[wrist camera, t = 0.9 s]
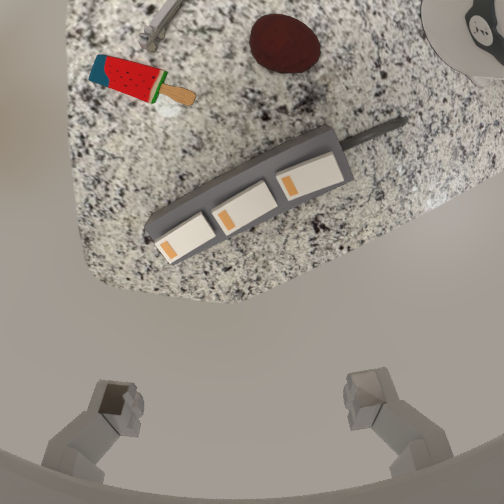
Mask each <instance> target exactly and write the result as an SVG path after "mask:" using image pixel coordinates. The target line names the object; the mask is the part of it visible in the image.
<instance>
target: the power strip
mask: <svg viewBox="0 0 504 504" xmlns="http://www.w3.org/2000/svg"><path fill="white" fill-rule="evenodd" d="M405 124H406V119H405V118H403V117H400V118H397V119H395V120H392V121H390V122H387V123H385V124H383V125H380V126H378V127H375V128H373V129H371V130H368V131H366V132H364V133H361V134H359V135H357V136H354V137H352V138H350V139H347V140H345V141H343V142H341V143H339V141H338V139H337V136H336V134H335V132H334V130H333V128H331V127H330V126H328V125H326V124H324V125H322V126H320V127H318V128H315V129H313V130H311V131H309V132H307V133H304V134H302V135H300V136H298V137H296V138H294V139H292V140H289V141H287V142H285V143H283V144H281V145H279V146H277V147H275V148H273V149H271V150H269V151H267V152H265V153H263V154H261V155H259V156H257V157H255V158H253V159H251V160H249V161H247V162H245V163H243V164H241V165H239V166H237V167H235V168H233V169H231V170H230V171H228V172H226V173H224V174H222V175H220V176H218V177H216V178H215V179H213V180H211V181H209V182H207V183H205V184H204V185H202V186H200V187H198V188H196V189H195V190H193V191H191V192H189V193H187V194H186V195H184V196H182V197H180V198H179V199H177V200H175V201H173V202H172V203H170V204H168V205H167V206H165V207H163V208H162V209H160V210H158V211H156V212H155V213H153V214H152V215H151V216H150V218H149V219H148V221H147V222H146V224H145V225H144V228H145V230H146V231H147V232H148V234H149V235H150V236H151V238H152V239H153V240H154V242H155V240H156V239H158V238H159V237H161V236H162V235H164V234H165V233H167V232H168V231H170V230H172V229H173V228H175V227H176V226H178V225H180V224H181V223H183V222H184V221H186V220H187V219H189V218H191V217H192V216H194V215H196V214H197V213H199V212H200V211H201V212H202V213H203V215H204V216H205V218H206V219H207V221H208V222H209V224H210V225H211V227H212V228H213V230H214V231H215V233H216V236H215V237H213V238H212V239H210V240H208V241H207V242H205V243H203V244H202V245H200V246H198V247H197V248H195V249H193V250H192V251H190V252H189V253H187V254H185V255H184V256H182V257H180V258H179V259H177V260H175V261H174V262H172V263H171V264H172V265H175V264H177V263H179V262H181V261H183V260H185V259H187V258H189V257H191V256H193V255H195V254H198V253H200V252H202V251H204V250H206V249H208V248H210V247H212V246H214V245H216V244H218V243H220V242H222V241H224V240H226V239H228V238H231V237H233V236H235V235H237V234H239V233H241V232H243V231H245V230H247V229H249V228H251V227H253V226H256V225H258V224H260V223H262V222H264V221H266V220H268V219H270V218H272V217H275V216H277V215H279V214H281V213H283V212H285V211H287V210H290V209H292V208H294V207H296V206H298V205H300V204H302V203H305V202H307V201H309V200H311V199H313V198H315V197H318V196H320V195H322V194H324V193H326V192H328V191H331V190H333V189H335V188H337V187H339V186H342V185H344V184H346V183H348V182H350V181H353V180H355V179H354V177H353V174H352V172H351V169H350V167H349V164H348V162H347V160H346V157H345V155H344V152H343V151H345V150H348V149H350V148H352V147H354V146H357V145H359V144H361V143H364V142H366V141H368V140H371V139H373V138H375V137H378V136H380V135H382V134H385V133H387V132H389V131H392V130H394V129H397V128H399V127H401V126H404V125H405ZM331 151H332V152H333V154H334V156H335V158H336V161H337V163H338V165H339V168H340V170H341V172H342V175H343V178H344V181H342V182H339V183H336V184H334V185H331V186H328V187H325V188H322V189H320V190H317V191H314V192H311V193H309V194H306V195H303V196H300V197H298V198H295V199H292V200H290V201H288V199H287V197H286V195H285V193H284V192H283V190H282V188H281V186H280V184H279V182H278V180H277V178H276V173H277V172H279V171H282V170H284V169H287V168H289V167H292V166H294V165H297V164H299V163H302V162H304V161H307V160H310V159H312V158H315V157H317V156H320V155H323V154H325V153H328V152H331ZM261 180H263V181H264V182H265V184H266V186H267V187H268V189H269V191H270V193H271V195H272V196H273V198H274V200H275V202H276V204H277V207H275V208H273V209H272V210H270V211H268V212H267V213H265V214H263V215H261V216H260V217H258V218H256V219H255V220H253V221H251V222H249V223H248V224H246V225H244V226H243V227H241V228H239V229H237V230H236V231H234V232H232V233H231V234H229V235H227V236H226V234H225V233H224V231H223V230H222V228H221V227H220V225H219V224H218V222H217V221H216V219H215V217H214V216H213V214H212V212H211V210H212V209H213V208H215V207H217V206H218V205H220V204H222V203H223V202H225V201H227V200H228V199H230V198H232V197H233V196H235V195H237V194H238V193H240V192H242V191H244V190H245V189H247V188H249V187H250V186H252V185H254V184H256V183H257V182H259V181H261Z"/></svg>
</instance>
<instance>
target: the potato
mask: <svg viewBox="0 0 504 504" xmlns="http://www.w3.org/2000/svg"><path fill="white" fill-rule="evenodd" d="M249 43H250V47H251V51H252V55H253V56H254V58H255V59H256V61H257V62H258V64H260V65H262V66H263V67H265V68H267V69H268V70H272V71H275V72H279V73H282V74H284V73H302V72H304V71H306V70H308V69H310V68H311V67H312V66H313V65H314V64H315V63H316V62H317V61H318V59H319V56H320V54H321V51H320V43H319V41H318V38H317V36H316V35H315V34H314V32H313V31H312V30H311V29H310V28H309V27H308V26H307V25H305V24H304V23H302V22H301V21H299V20H297V19H295V18H293V17H290V16H286V15H282V14H269V15H264V16H262V17H261V18H259V19H258V20H257V21H256V23H255V24H254V25H253V27H252V30H251V35H250V42H249Z"/></svg>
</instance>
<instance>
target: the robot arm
mask: <svg viewBox="0 0 504 504" xmlns="http://www.w3.org/2000/svg"><path fill="white" fill-rule="evenodd" d="M421 17H422V23H423V27H424V30H425V33H426V36H427V38H428V40H429V42H430V44H431V45H432V47H433V48H434V50H435V51H436V53H437V54H438V55H439V56H440V57H441V59H442V60H443V61H444V62H446V63H447V64H448V65H449V66H451V67H452V68H454V69H455V70H457V71H460V72H462V73H464V74H465V75H467V76H468V77H469V78H470V79H471V81H472V82H473V83H474V84H475V85H477V86H478V87H485V86H486V85H488V84H489V83H491V82H492V81H494V80H495V79H497V80H504V0H423V1H422V6H421ZM136 390H137V387H136V385H135V384H134V383H131V382H119V381H111V380H99V381H98V382H97V384H96V387H95V389H94V392H93V395H92V398H91V401H90V403H89V407H88V410H87V411H83V412H82V413H81V414H80V415H79V416H77V417H76V418H75V419H74V420H73V421H72V422H70V423H69V424H68V425H67V426H66V427H65V428H63V429H62V430H61V431H60V432H59V433H58V434H56V435H55V436H54V437H53V438H52V439H51V440H50V441H49V443H48V446H47V448H46V452H45V455H44V458H43V461H42V464H41V465H38V464H35V463H33V462H30V461H28V460H25V459H23V458H20V457H18V456H16V455H13V454H11V453H9V452H7V451H4V450H2V449H0V504H504V434H502V435H500V436H498V437H497V438H494V439H492V440H490V441H488V442H486V443H484V444H482V445H480V446H478V447H476V448H473V449H471V450H469V451H467V452H464V453H462V454H460V455H457V456H455V457H454V456H453V453H452V450H451V447H450V445H449V442H448V440H447V437H446V434H445V431H444V430H443V429H442V428H440V427H439V426H438V425H436V424H435V423H434V422H432V421H431V420H429V419H428V418H427V417H426V416H424V415H423V414H421V413H420V412H419V411H417V410H416V409H415V408H413V407H412V406H411V405H409V404H408V403H407V402H405V401H404V400H399V397H398V394H397V392H396V389H395V386H394V384H393V381H392V379H391V376H390V374H389V371H388V369H387V368H386V367H382V368H378V369H370V370H365V371H360V372H353V373H349V374H348V375H347V384H346V385H345V386H344V390H343V397H344V404H345V407H346V408H347V409H348V410H349V414H348V421H349V424H350V429H351V431H352V430H359V429H365V428H370V427H372V428H371V429H372V430H374V432H375V433H377V434H378V436H379V437H380V438H381V439H383V440H384V442H386V443H387V444H388V445H389V446H390V447H391V448H392V449H393V450H394V451H395V452H396V453H397V454H398V455H399V457H398V458H397V459H396V460H395V461H394V462H393V464H392V465H391V466H390V471H391V476H392V478H391V479H387V480H383V481H379V482H375V483H372V484H367V485H363V486H358V487H353V488H349V489H343V490H337V491H332V492H325V493H318V494H311V495H303V496H294V497H282V498H267V499H203V498H188V497H177V496H168V495H160V494H152V493H145V492H139V491H134V490H128V489H122V488H118V487H113V486H109V485H104V484H103V481H104V475H105V474H104V472H103V471H102V470H101V469H99V468H98V467H97V466H95V465H96V463H97V462H98V461H99V460H100V459H101V458H102V457H103V455H104V454H105V453H106V452H107V451H108V450H109V448H110V447H111V446H112V445H113V444H114V443H115V441H117V439H118V438H119V437H120V436H130V437H138V435H139V431H140V426H141V423H140V421H139V418H140V417H141V416H142V415H143V412H144V400H143V397H142V395H141V394H140V393H139V392H137V391H136ZM119 435H120V436H119Z"/></svg>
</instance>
